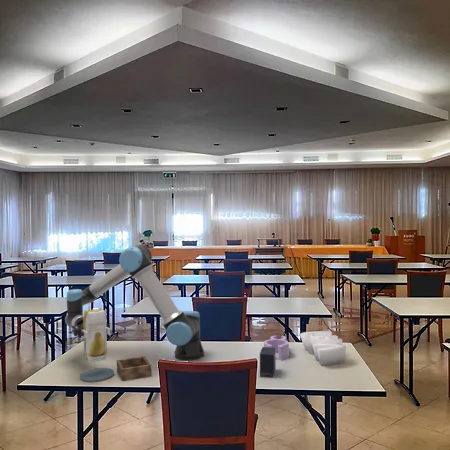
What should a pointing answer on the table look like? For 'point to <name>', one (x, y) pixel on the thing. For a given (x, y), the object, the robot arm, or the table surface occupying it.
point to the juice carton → (95, 335)
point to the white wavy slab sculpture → (324, 347)
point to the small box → (267, 362)
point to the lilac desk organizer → (278, 346)
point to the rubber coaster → (97, 374)
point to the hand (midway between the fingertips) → (98, 333)
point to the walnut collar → (133, 368)
